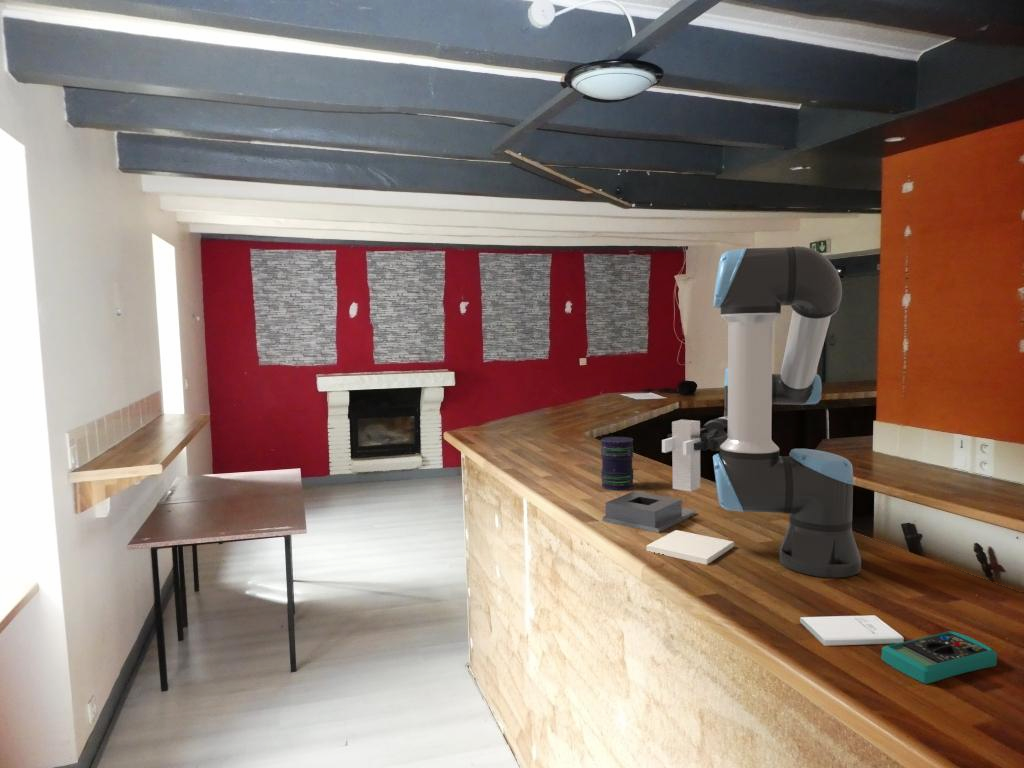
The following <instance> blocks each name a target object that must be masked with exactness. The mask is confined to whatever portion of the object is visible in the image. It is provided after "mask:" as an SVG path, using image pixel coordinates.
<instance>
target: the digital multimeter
mask: <svg viewBox="0 0 1024 768" xmlns="http://www.w3.org/2000/svg"><path fill="white" fill-rule="evenodd" d="M997 657H998V653H997V652H996V651H995V650H993V649H992V648H991V647H990V646H987V645H986V644H984V643H982V642H980V641H979V640H976V639H974V638H972V637H969V636H967V635H965V634H961V633H958V632H956V631H952V630H949V631H945V632H944V631H943V632H942V633H937V634H933V635H929V636H926V637H925V636H924V637H922V638H918V639H917V638H916V639H912V640H907V641H904V642H902V643H891V644H889V645H888V644H887V645H886V646H883V647H881V661H883V662H884V663H885V664H887V665H888V666H891V667H892V668H893V669H895V670H897V671H898V672H901V674H902V673H903V674H904V675H906V676H908V677H910V678H912V679H914V680H916V681H917V682H920V683H921V684H924V685H927V684H932V683H935V682H939V681H942V680H944V679H949V678H951V677H954V676H958V675H963V674H965V673H967V674H968V673H969V672H970V673H971V672H974V671H978V670H983V669H987V668H992V667H996V666H997V665H998V664H997V662H998V660H997V659H998V658H997Z"/></svg>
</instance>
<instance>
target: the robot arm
mask: <svg viewBox="0 0 1024 768" xmlns="http://www.w3.org/2000/svg"><path fill="white" fill-rule="evenodd" d="M719 258H720V259H719V262H718V267H717V268H718V269H717V272H716V273H717V274H716V279H715V286H714V287H715V288H714V294H713V295H714V296H713V305H712V306H713V307H714V308H717V309H720V317H721V318H722V319H723V320H724V321H725V322H726V323H727V325H728V326H727V329H728V330H727V367H726V369H725V370H724V384H723V386H724V389H723V390H724V413H723V416H721V417H718V418H714V419H710V420H708V421H706V423H704V425H703V426H702V427H700V438H696V439H693V440H689V441H686V442H683V455H688V454H691V453H695V452H698V451H700V452H701V451H707V450H709V449H710V451H712V452H715V451H716V452H719V453H716V454H714V455H713V456H712V460H713V461H712V462H713V463H712V464H713V471H714V478H715V485H716V493H717V499H718V503H719V505H720V507H721V508H722V509H724V510H726V511H734V512H735V511H736V512H741V513H745V512H746V513H747V512H748V513H749V512H750V513H767V514H768V513H772V514H789V515H788V517H789V518H788V519H789V521H788V526H787V529H786V532H785V535H784V537H783V540H782V543H781V546H780V548H779V563H780V564H781V565H783V566H784V567H785V568H788V569H789V570H791V571H793V572H794V571H795V572H797V573H801V574H804V575H808V576H813V577H820V578H830V579H831V578H835V579H836V578H837V579H838V578H840V579H841V578H847V577H848V578H849V577H853V576H857V575H859V573H861V570H862V558H861V557H862V556H861V555H860V552H859V548H858V546H857V545H858V544H857V543H856V540H855V535H854V533H853V502H854V501H853V498H854V497H853V495H854V484H855V481H854V470H853V464H852V462H851V461H850V460H849V459H848V458H846V457H843V456H842V455H839V454H835V453H832V452H827V451H822V450H818V449H817V450H816V449H809V448H793V449H791V450H790V452H789V456H781V455H780V447H779V446H778V445H777V444H776V443H775V442H774V441H773V440H772V414H773V413H772V408H773V407H772V406H773V405H800V406H804V405H816V404H818V403H819V402H820V400H821V398H822V392H823V391H822V389H823V386H822V379H821V376H820V375H819V374H817V370H818V366H819V362H820V359H821V355H822V352H823V351H822V350H823V348H824V343H825V340H826V337H827V333H828V330H829V329H828V328H829V326H830V321H831V317H832V316H833V315H835V314H836V313H837V312H838V310H839V308H840V305H841V301H842V296H843V287H842V286H843V285H842V281H841V278H840V275H839V272H838V270H837V269H836V267H835V266H834V265H833V263H832V262H831V260H830V259H828V258H827V257H826V256H825V255H823V254H822V253H820V252H819V251H818V250H815V249H814V248H810V247H806V246H799V245H798V246H797V245H795V246H789V247H788V246H787V247H755V248H754V247H753V248H749V247H748V248H746V247H745V248H741V249H740V248H739V249H733V250H727V251H725V252H723V253H722V255H721V256H720V257H719ZM782 306H783V307H784V306H790V308H791V309H792V312H791V318H790V324H789V329H788V333H787V339H786V345H785V350H784V355H783V359H782V364H781V365H782V366H781V370H780V373H773V326H774V325H773V324H774V322H775V321H776V320H777V319H778V318H779V317H780V316H781V314H782ZM672 450H673V447H672V433H670V434H667V438H665V439H662V440H661V453H665V454H667V453H669V452H672Z"/></svg>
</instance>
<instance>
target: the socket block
mask: <svg viewBox="0 0 1024 768" xmlns="http://www.w3.org/2000/svg"><path fill="white" fill-rule="evenodd" d="M682 502H683V501H682V499H681V498H676V497H670V496H663V495H658V494H651V493H645V492H639V491H631V492H629V493H626V494H624V495H621V496H618V497H616V498H613V499H610V500H608V501H606V502H605V515H604V516H602V519H601V520H602V522H606V523H610V524H613V525H614V524H615V525H618V526H624V527H629V528H634V529H638V530H644V531H648V532H654V533H657V534H659V533H661V532H663V531H665V530H667V529H669V528H671V527H673V526H674V525H677V524H678V523H681V522H683V521H684V520H686V519H688V518H691V517H692V516H694V515H697V512H696V511H697V510H696V509H692V508H688V507H687V508H685V507H683V506H682V504H683V503H682Z"/></svg>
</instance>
